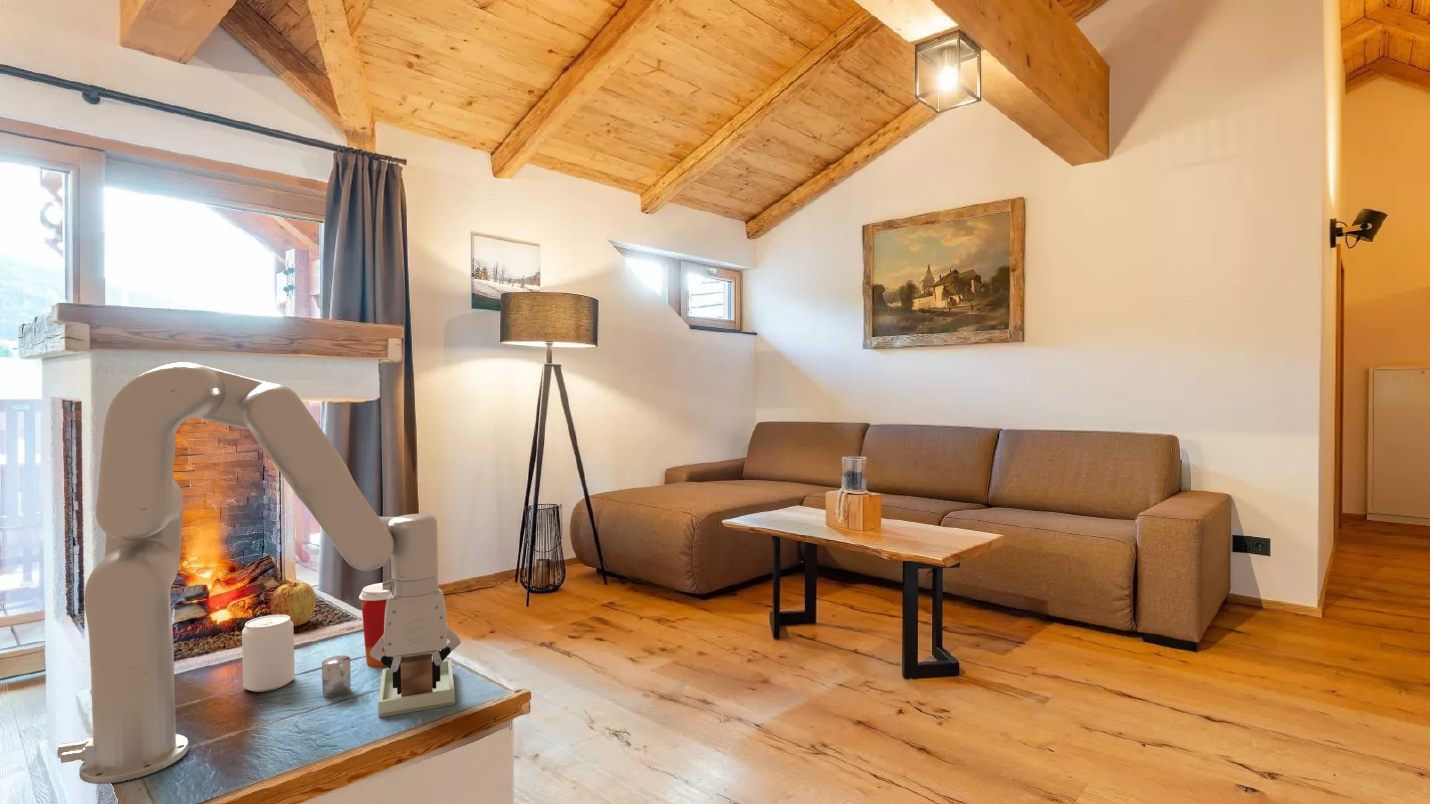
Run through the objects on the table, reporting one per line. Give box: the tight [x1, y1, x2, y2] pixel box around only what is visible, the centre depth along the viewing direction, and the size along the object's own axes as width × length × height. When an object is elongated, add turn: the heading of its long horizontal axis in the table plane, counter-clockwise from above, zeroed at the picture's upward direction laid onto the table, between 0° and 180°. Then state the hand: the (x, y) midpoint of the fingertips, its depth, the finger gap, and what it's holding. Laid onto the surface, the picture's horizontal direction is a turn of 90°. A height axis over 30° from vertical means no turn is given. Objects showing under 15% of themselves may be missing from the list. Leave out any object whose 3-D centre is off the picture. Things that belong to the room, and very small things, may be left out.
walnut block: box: [400, 652, 433, 697], centre depth 126 cm, size 5×5×6 cm
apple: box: [270, 582, 317, 628], centre depth 166 cm, size 9×9×10 cm
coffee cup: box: [358, 582, 393, 668], centre depth 144 cm, size 8×8×15 cm
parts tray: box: [377, 658, 456, 718], centre depth 129 cm, size 12×15×3 cm
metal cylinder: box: [321, 655, 352, 700], centre depth 130 cm, size 4×4×6 cm
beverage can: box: [241, 614, 296, 693], centre depth 133 cm, size 8×8×12 cm
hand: (417, 687), depth 126 cm, fingers closed on walnut block, 5 cm apart
